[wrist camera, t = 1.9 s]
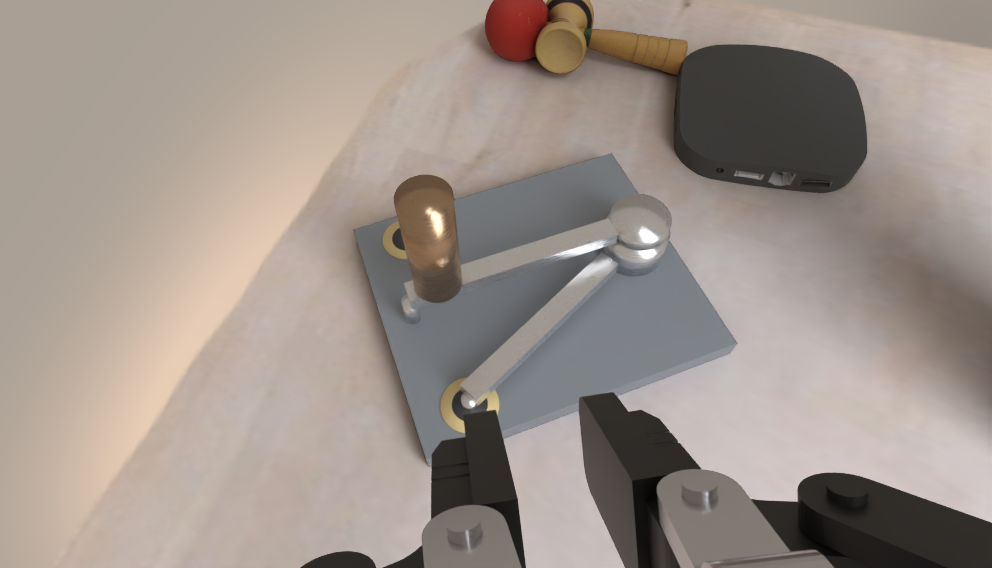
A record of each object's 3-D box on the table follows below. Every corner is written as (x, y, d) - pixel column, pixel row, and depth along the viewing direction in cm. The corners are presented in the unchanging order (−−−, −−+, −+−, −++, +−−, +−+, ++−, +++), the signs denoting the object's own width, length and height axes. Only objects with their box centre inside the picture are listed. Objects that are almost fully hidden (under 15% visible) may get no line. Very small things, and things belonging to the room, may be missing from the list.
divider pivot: (628, 216, 45) (635, 193, 43) (674, 253, 43) (683, 231, 41) (427, 369, 38) (423, 351, 36) (472, 419, 37) (470, 404, 35)
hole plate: (608, 166, 50) (611, 151, 48) (730, 353, 40) (738, 342, 39) (357, 241, 46) (352, 228, 44) (428, 466, 37) (425, 458, 35)
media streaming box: (838, 80, 55) (854, 52, 53) (858, 202, 48) (878, 176, 45) (675, 62, 57) (683, 34, 54) (670, 178, 49) (678, 151, 47)
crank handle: (643, 216, 44) (682, 93, 35) (671, 259, 42) (720, 140, 33) (397, 295, 41) (365, 182, 31) (414, 345, 39) (386, 241, 29)
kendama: (671, 51, 59) (491, 10, 59) (697, 0, 54) (497, -45, 53) (664, 115, 57) (475, 73, 56) (691, 69, 51) (480, 22, 50)
